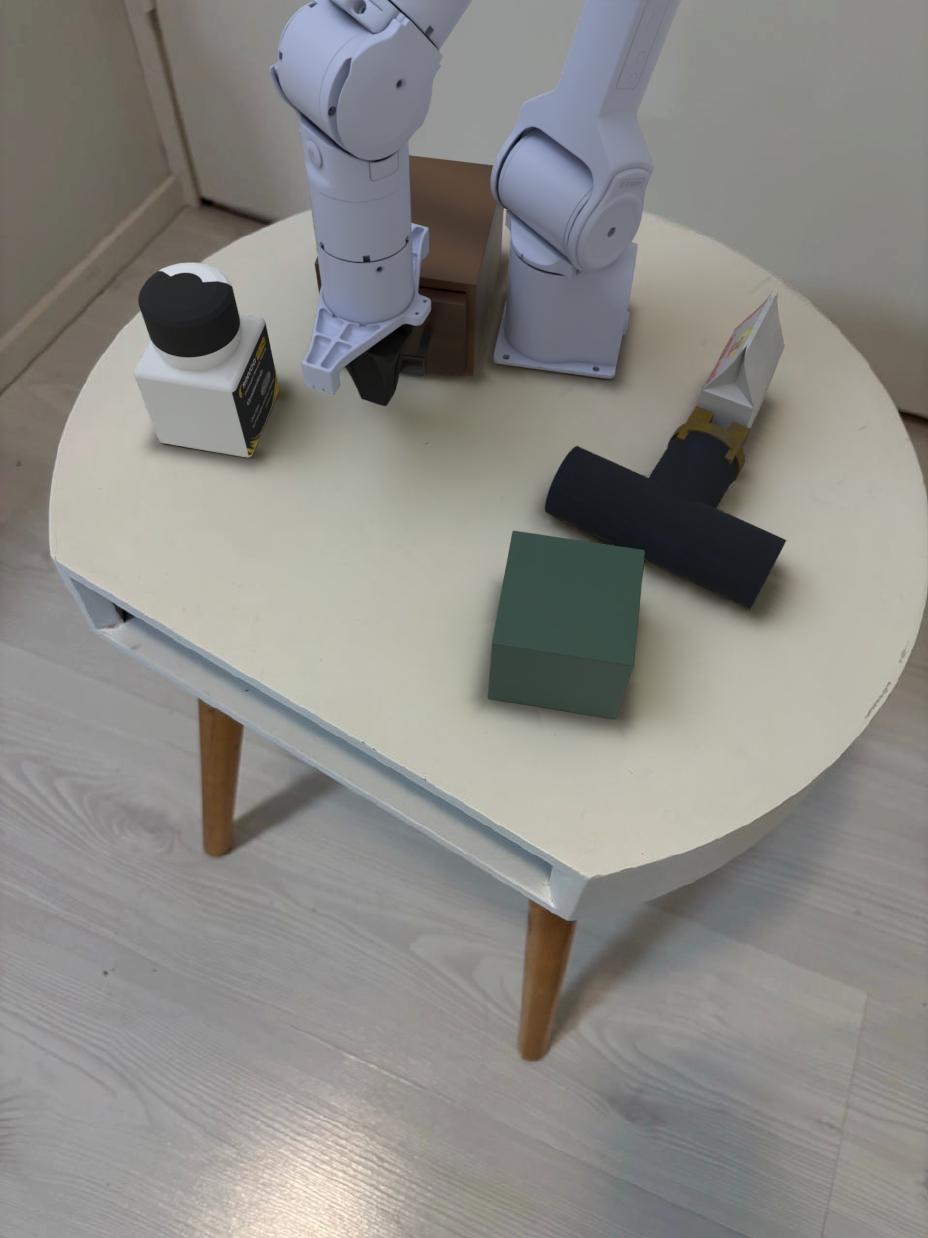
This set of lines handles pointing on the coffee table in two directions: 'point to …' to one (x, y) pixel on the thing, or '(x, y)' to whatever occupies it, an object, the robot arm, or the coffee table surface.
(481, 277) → the cabinet
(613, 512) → the pipe connector
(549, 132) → the robot arm
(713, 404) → the white juice carton
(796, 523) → the coffee table surface
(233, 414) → the medicine bottle
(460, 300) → the drawer
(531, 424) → the coffee table surface
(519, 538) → the block
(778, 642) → the coffee table surface
